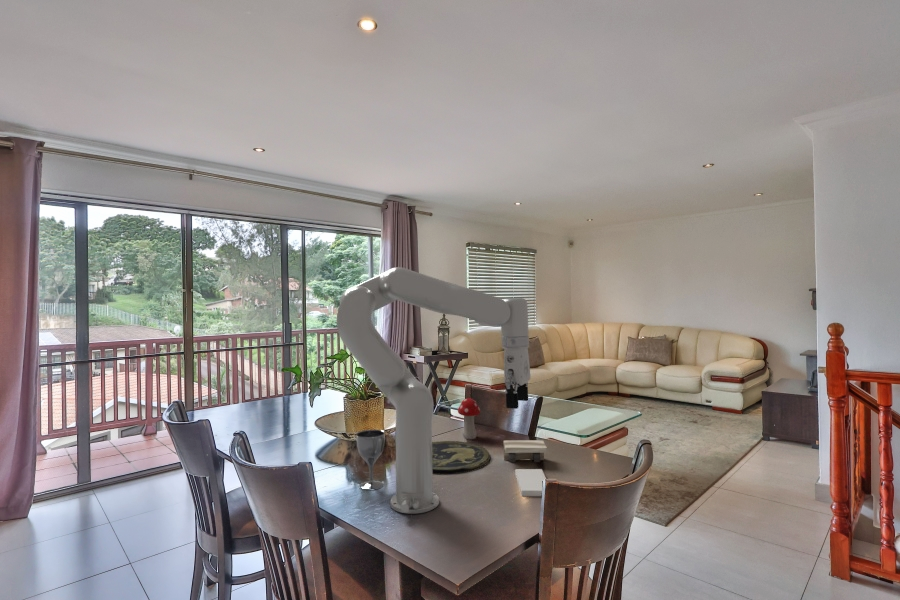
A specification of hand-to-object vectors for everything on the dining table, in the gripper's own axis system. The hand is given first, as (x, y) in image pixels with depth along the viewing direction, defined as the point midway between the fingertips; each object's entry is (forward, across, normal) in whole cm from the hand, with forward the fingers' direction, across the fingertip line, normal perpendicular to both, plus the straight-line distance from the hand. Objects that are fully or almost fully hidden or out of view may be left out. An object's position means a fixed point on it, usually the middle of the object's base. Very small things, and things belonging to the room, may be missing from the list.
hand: (517, 404), depth 129 cm
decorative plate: (+24, +16, +31) cm, 42 cm away
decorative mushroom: (+24, +41, +32) cm, 57 cm away
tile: (+24, +4, -2) cm, 25 cm away
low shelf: (+24, +21, +5) cm, 32 cm away
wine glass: (+23, -14, +40) cm, 48 cm away
